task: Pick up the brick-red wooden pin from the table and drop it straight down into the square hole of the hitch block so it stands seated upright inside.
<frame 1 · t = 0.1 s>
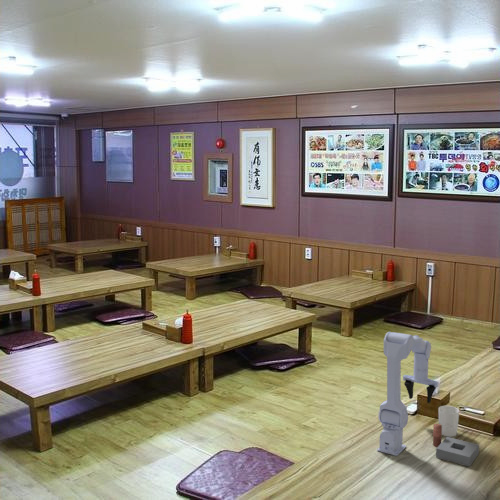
hand: (419, 400, 250), 10 cm above the table, tool pointing down, fingers open, 7 cm apart
pin: (437, 445, 232), on the table
white cup: (447, 433, 242), on the table
hitch block: (457, 455, 223), on the table
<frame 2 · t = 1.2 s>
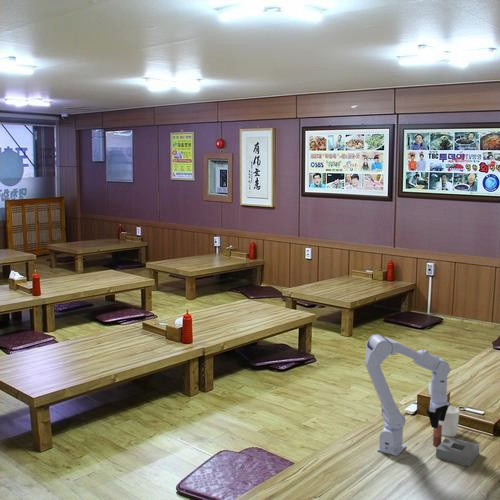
hand: (437, 424, 230), 9 cm above the table, tool pointing down, fingers open, 7 cm apart
nothing on the table moved.
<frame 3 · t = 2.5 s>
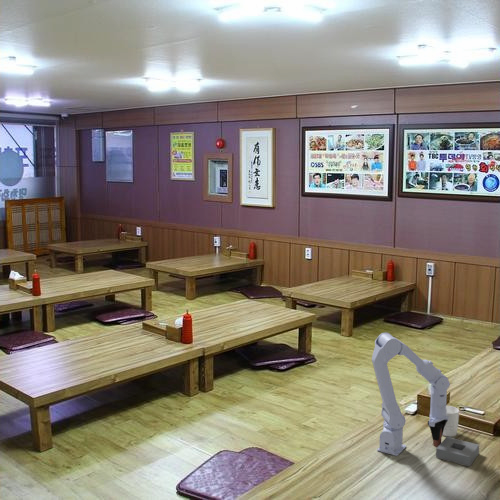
hand: (437, 438, 231), 3 cm above the table, tool pointing down, fingers closed on pin, 3 cm apart
pin: (437, 445, 232), on the table, touching gripper
everything else where it was.
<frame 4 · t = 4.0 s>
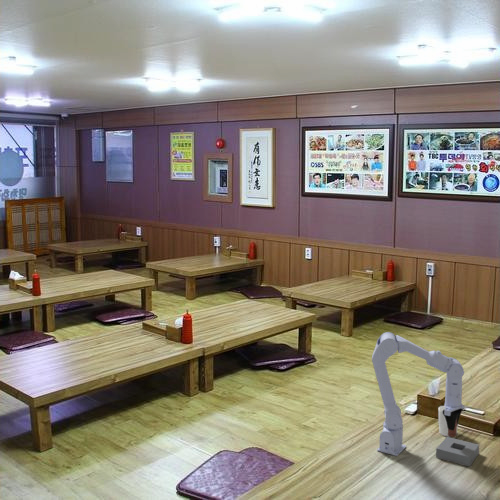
hand: (452, 427, 224), 10 cm above the table, tool pointing down, fingers closed on pin, 3 cm apart
pin: (452, 435, 225), point 7 cm above the table, touching gripper
everything else where it was.
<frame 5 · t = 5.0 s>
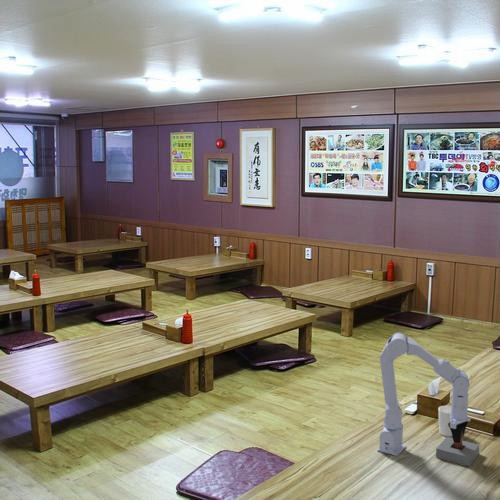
hand: (458, 440, 222), 6 cm above the table, tool pointing down, fingers closed on pin, 3 cm apart
pin: (457, 447, 223), point 3 cm above the table, touching gripper
everything else where it was.
when the fingers open (4 cm above the table, at t = 5.9 s): pin drops 1 cm, resting in hitch block.
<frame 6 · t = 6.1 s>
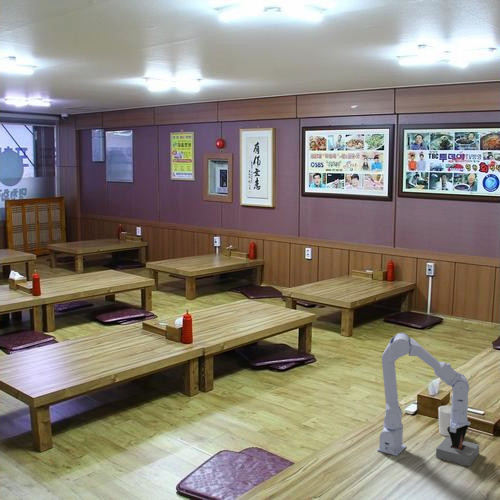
hand: (458, 444, 223), 4 cm above the table, tool pointing down, fingers open, 5 cm apart
pin: (457, 455, 223), resting in hitch block
everything else where it was.
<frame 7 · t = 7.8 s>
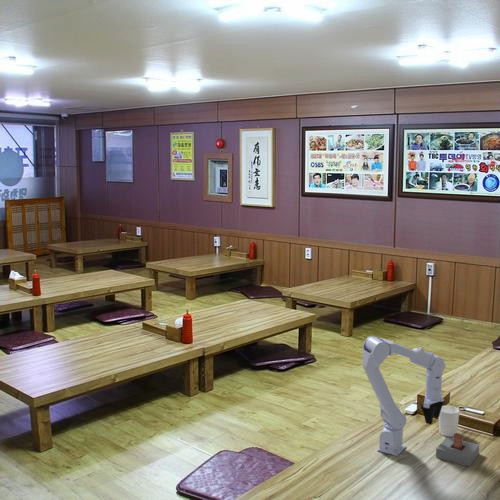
hand: (432, 420, 232), 9 cm above the table, tool pointing down, fingers open, 7 cm apart
nothing on the table moved.
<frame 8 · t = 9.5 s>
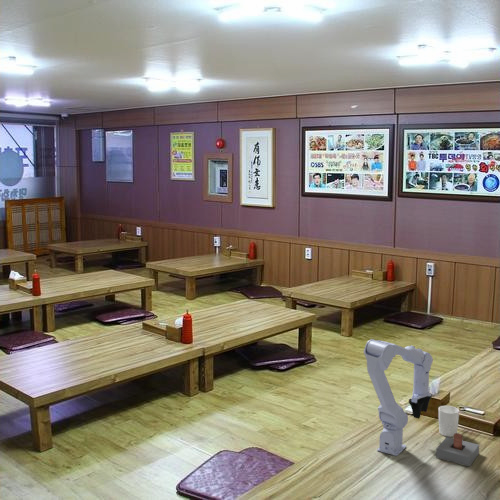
hand: (420, 414, 237), 9 cm above the table, tool pointing down, fingers open, 7 cm apart
nothing on the table moved.
at the end: pin 0.0 cm off-centre on the hitch block, point 0.0 cm above the hitch block's base; pin tilted 0°; the gripper is holding nothing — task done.
